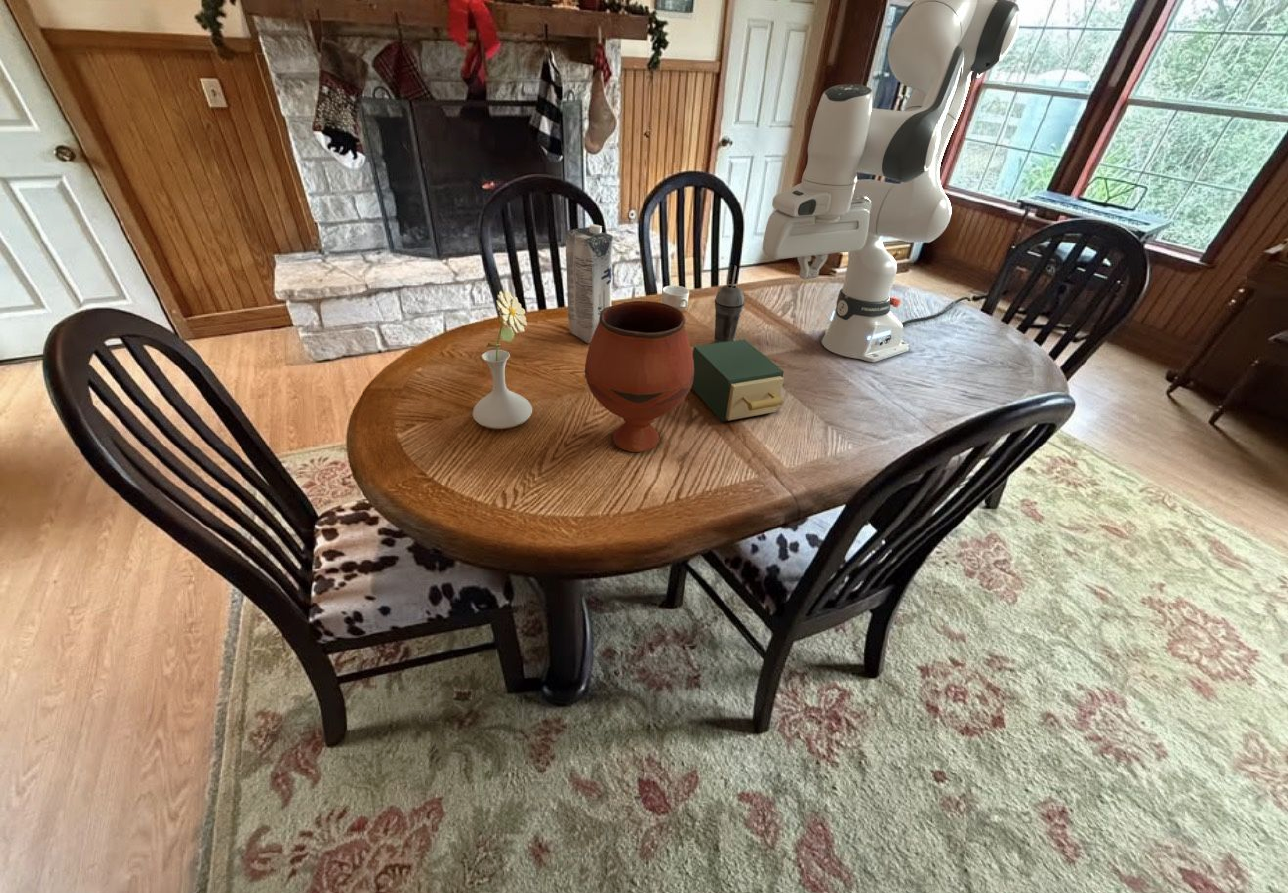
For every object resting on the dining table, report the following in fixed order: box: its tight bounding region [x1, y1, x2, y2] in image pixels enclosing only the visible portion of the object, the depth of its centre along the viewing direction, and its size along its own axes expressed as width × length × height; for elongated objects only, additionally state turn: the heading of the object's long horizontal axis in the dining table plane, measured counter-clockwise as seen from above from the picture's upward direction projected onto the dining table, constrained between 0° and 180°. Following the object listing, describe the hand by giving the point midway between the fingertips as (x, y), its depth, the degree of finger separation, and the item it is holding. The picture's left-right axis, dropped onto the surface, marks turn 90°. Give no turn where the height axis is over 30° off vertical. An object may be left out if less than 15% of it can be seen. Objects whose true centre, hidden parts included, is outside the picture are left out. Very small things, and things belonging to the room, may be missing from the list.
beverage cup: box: [714, 265, 745, 343], centre depth 134 cm, size 7×7×20 cm
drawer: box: [726, 376, 785, 422], centre depth 113 cm, size 18×11×8 cm, turn 22°
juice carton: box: [564, 224, 614, 345], centre depth 134 cm, size 9×10×27 cm
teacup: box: [661, 285, 690, 311], centre depth 157 cm, size 10×8×5 cm
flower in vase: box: [472, 290, 533, 430], centre depth 102 cm, size 13×11×25 cm
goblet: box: [584, 300, 694, 453], centre depth 98 cm, size 19×19×25 cm
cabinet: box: [691, 338, 785, 423], centre depth 116 cm, size 16×13×10 cm
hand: (808, 277), depth 102 cm, fingers closed
